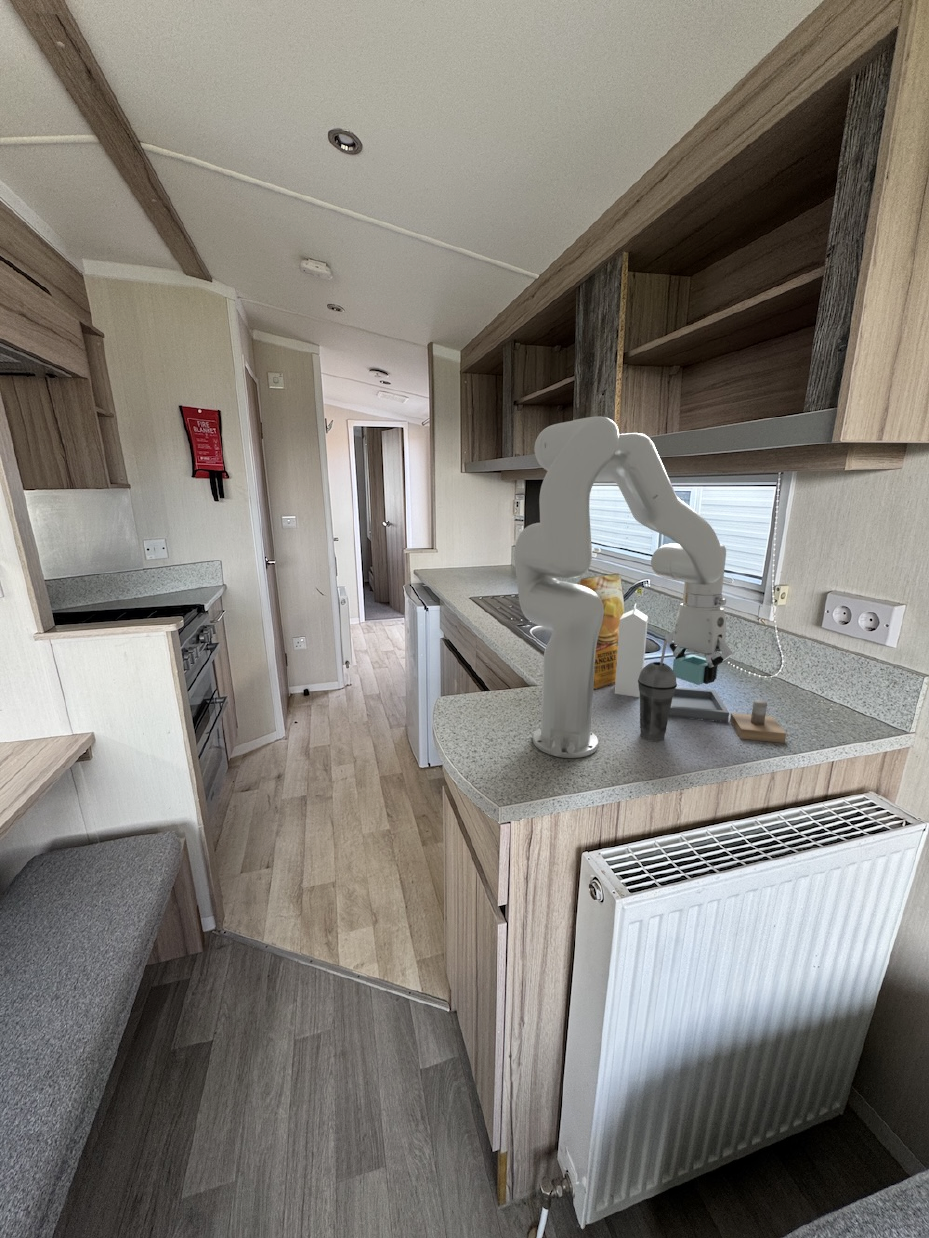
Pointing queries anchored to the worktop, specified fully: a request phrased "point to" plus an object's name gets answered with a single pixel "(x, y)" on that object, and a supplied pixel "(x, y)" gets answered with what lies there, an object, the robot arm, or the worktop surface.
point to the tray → (698, 705)
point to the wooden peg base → (758, 724)
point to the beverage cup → (656, 698)
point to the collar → (690, 668)
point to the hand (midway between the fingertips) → (694, 676)
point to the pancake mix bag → (607, 626)
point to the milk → (630, 652)
